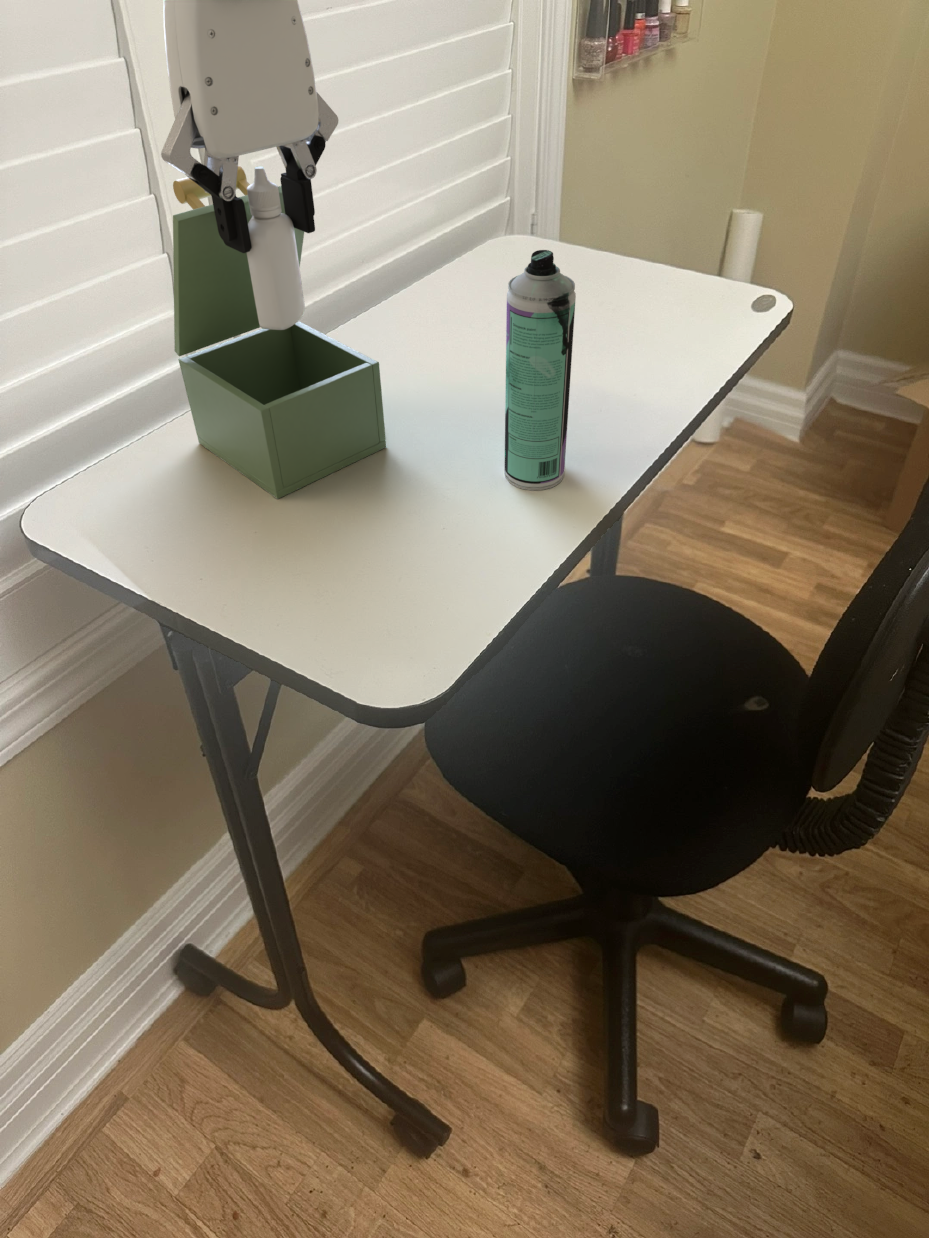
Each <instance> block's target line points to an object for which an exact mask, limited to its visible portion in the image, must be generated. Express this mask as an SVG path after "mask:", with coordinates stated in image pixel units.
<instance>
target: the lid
mask: <svg viewBox="0 0 929 1238" xmlns="http://www.w3.org/2000/svg"><path fill="white" fill-rule="evenodd" d="M249 185H251V184H250V183H249V182H248V179H247V174H246V172H245V170H244V168H243V167H242V165H239V164H238V170H237V181H236V190H238V191H240V192H241V193H242V194H243V195H242V196H237V197H238V198H241V199H242V200H243V201H244V205H245V211H246V217H247V222H248V223H249V221H250V219H251V218H252V215H251V212H250V206H249V200H248V194H247V187H248V186H249ZM277 186H278V190H279V197H280V204H281V210H282V212H281V213H283V214H285V208H284V201H283V194H282V188H281V185H277ZM172 190H173V193H174V196H175V198H176V199H177V201H178V202H179V203H180V204H181V205H184V204H188V206H190V208H191V209H190V210H187V211H183V212H179V213H176V214H173V215H172V255H173V256H172V257H173V258H172V259H173V263H172V264H173V319H174V320H173V329H174V330H173V334H174V335H173V336H174V338H173V339H174V340H173V341H174V342H173V343H174V352H175V353H176V355H177V356H178V357H182V356H184V355H189V354H192V353H194V352H197V351H200V350H203V349H205V348H207V347H211V346H214V345H217V344H218V343H222V342H225V341H226V340H227V341H228V340H230V339H233V338H234V337H235V338H236V337H237V336H238V337H239V336H241V335H243V334H245V333H246V334H247V333H250V332H251V331H252V332H253V331H255V330H258V329H259V328H260V329H261V327H260V325H259V321H258V315H257V309H256V304H255V298H254V292H253V287H252V281H251V275H250V269H249V264H248V258H247V253H242V252H239V251H237V250H235V249H233V248H231V247H229V246H227V245H225V243H224V241H223V240H222V239H221V237H220V235H219V232H218V227H217V222H216V217H215V212H214V207H213V203H212V204H209V205H206V204H205V203H203V201H201V200H203V199H207V198H210V197H211V198H212V196H211V194H209V193H206V192H205V191H204V189H203V188H201V187H200V186H199V185H198V184H196V183H195V182H194V181H192V180H191V179H190V178H189V177H187V176H186V177H182V178H179V179H175V180H173V183H172ZM294 233H295V239H296V246H297V253H298V260H299V267H300V268H301V260H302V255H303V247H304V246H303V244H304V237H305V232H304V231H301V230H299V229H296V228H294Z"/></svg>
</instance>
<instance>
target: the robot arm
mask: <svg viewBox="0 0 929 1238" xmlns="http://www.w3.org/2000/svg"><path fill="white" fill-rule="evenodd" d="M163 33H164V34H163V35H164V49H165V59H166V67H167V75H168V83H169V91H170V98H171V104H172V110H173V117H174V120H173V124H172V126H171V128H170V131H169V133H168V135H167V137H166V140H165V142H164V144H163V147H162V150H161V152H160V155H161V159H162V160H163V161H164V162H165V163H166V164H168V165H169V166H171V167H173V168H174V169H176V171H179V172H180V173H182V174H184V175H185V176H186V178H187V177H189V178H190V179H191V180H192V181H194V182H195V183H196V184H198V185H199V186H200V187H201V188H203V189H204V191H205V192H206V193H209V194H211V202H212V204H213V207H214V212H215V217H216V222H217V227H218V232H219V235H220V237H221V239H222V240H223V241H224V243H225V245H227V246H229V247H231V248H233V249H235V250H237V251H239V252H242V253H247V252H250V249H251V248H252V246H251V240H250V234H249V228H248V222H247V217H246V211H245V205H244V201H243V200H242V199H241V198H238V197H239V196H237V193H236V192H237V191H236V181H237V170H238V165H239V160H240V159H239V157H240V156H244V155H247V154H252V153H257V152H260V151H264V150H269V149H272V148H276V150H277V152H278V155H279V157H280V159H281V162H282V164H283V166H284V169H285V172H282V173H280V176H281V177H280V186H281V188H282V194H283V201H284V208H285V214H286V215H287V216H289V217H290V219H291V220H292V223H293V227H294V228H296V229H299V230H301V231H304V233H306V234H311V233H315V231H316V226H315V224H316V223H315V217H314V216H315V213H316V211H315V210H316V209H315V203H314V201H315V200H314V194H313V186H312V185H313V184H312V179H314V178H315V177H316V176H317V172H318V171H317V164H318V162H319V161H320V159H321V157H322V155H323V153H324V151H325V149H326V142H329V140H330V138H331V136H332V135H333V133H334V131H335V130H336V128H337V127H338V124H339V116H338V115H337V114H336V113H335V111H334V110H333V109H332V107H331V106H330V105H329V104H328V103H327V102H326V101H325V100H324V98H323V97H322V96H321V95H320V94H319V93H318V91H317V85H316V79H315V73H314V67H313V61H312V55H311V50H310V45H309V40H308V35H307V31H306V27H305V23H304V18H303V15H302V11H301V8H300V4H299V1H298V0H163ZM191 148H192V149H204V157H203V163H202V162H200V161H199V160H197V159H196V158H194V157H193V155H192V153H191Z"/></svg>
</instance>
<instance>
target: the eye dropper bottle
mask: <svg viewBox="0 0 929 1238" xmlns="http://www.w3.org/2000/svg"><path fill="white" fill-rule="evenodd" d="M278 186H279V185H278V184H277V183H275V182H272V181H270V180H269V178H268V176H267V173H266V169H265V167H264V166H263V165H262V166H261V165H259V166H258V165H257V166H255V167H254V179H253V182H252V183H251V184H250V185H249V186H248V187H247V194H248V200H249V206H250V212H251V215H252V218H251V219H250V221H249V223H248V228H249V234H250V240H251V246H252V248H251V249H250V252H247V258H248V264H249V269H250V275H251V281H252V287H253V292H254V298H255V304H256V309H257V315H258V321H259V325H260V329H262V328H263V329H272V330H285V329H287V328H289V327H291V326H293V325H294V324H296V323H297V322H298V321H299V322H300V320H301V319H302V318H303V316H304V315H305V310H306V305H305V297H304V290H303V283H302V282H303V281H302V276H301V275H302V274H301V266H300V267H299V260H298V253H297V246H296V239H295V233H294V227H293V223H292V220H291V219H290V217H289V216H287V215H286V214H283V213H281V212H282V210H281V204H280V197H279V190H278Z"/></svg>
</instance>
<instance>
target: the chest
mask: <svg viewBox="0 0 929 1238" xmlns="http://www.w3.org/2000/svg"><path fill="white" fill-rule="evenodd" d="M178 363H179V368H180V371H181V372H180V373H181V375H182V379H183V384H184V388H185V393H186V396H187V400H188V404H189V409H190V412H191V417H192V420H193V425H194V428H195V429H194V430H195V432H196V436H197V440H198V443H199V444H200V445H201V446H202V447H204V448H206V449H207V450H208V451H210V453H212V454H214V455H215V456H216V457H218V458H219V459H221V460H222V461H224V462H225V463H226V464H228V465H229V466H231V467H232V468H233V469H235V470H236V471H237V472H239V473H241V474H242V475H244V477H246V478H247V479H249V481H252V482H253V483H255V484H256V485H257V486H258V487H260V488H261V489H263V490H264V491H266V492H267V493H268V494H270V495H271V496H273V498H276V499H277V500H279V499H281V498H283V497H285V496H287V495H290V494H291V493H293V492H295V491H297V490H300V489H302V488H304V487H306V486H309V485H310V484H312V483H315V482H316V481H318V480H321V479H323V478H325V477H326V476H329V475H332V474H334V473H336V472H338V471H340V470H342V469H344V468H346V467H348V466H350V465H352V464H354V463H356V462H358V461H361V460H363V459H365V458H367V457H369V456H371V455H373V454H375V453H377V452H379V451H381V450H383V449H385V448H387V441H386V438H387V437H386V427H385V418H384V417H385V416H384V404H383V395H382V394H383V393H382V392H383V391H382V382H381V372H380V371H381V370H380V363H379V361H377V360H375V359H373V358H372V357H370V356H367V355H366V354H363V353H362V352H360V351H357V350H355V349H354V348H352V347H349V346H348V345H347V344H344V343H342V342H340V341H338V340H337V339H335V338H333V337H330V336H328V335H326V334H325V333H322V332H321V331H319V330H317V329H315V328H312V327H311V326H309V325H307V324H305V323H303V322H301V321H300V320H299V321H298V322H297V323H296V324H294V325H293V326H291V327H289V328H287V329H285V330H272V329H263V328H260V329H256V330H253V331H252V332H251V331H250V332H248V333H246V334H244V335H243V334H242V335H239V336H238V337H235V338H231V339H228V340H227V341H223V342H220V343H219V344H218V343H217V344H214V345H212V346H209V347H208V348H207V347H206V348H203V349H201V350H198V351H195V352H192V353H190V354H187V355H186V356H183V357H182V356H181V357H180V358H178Z"/></svg>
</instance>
